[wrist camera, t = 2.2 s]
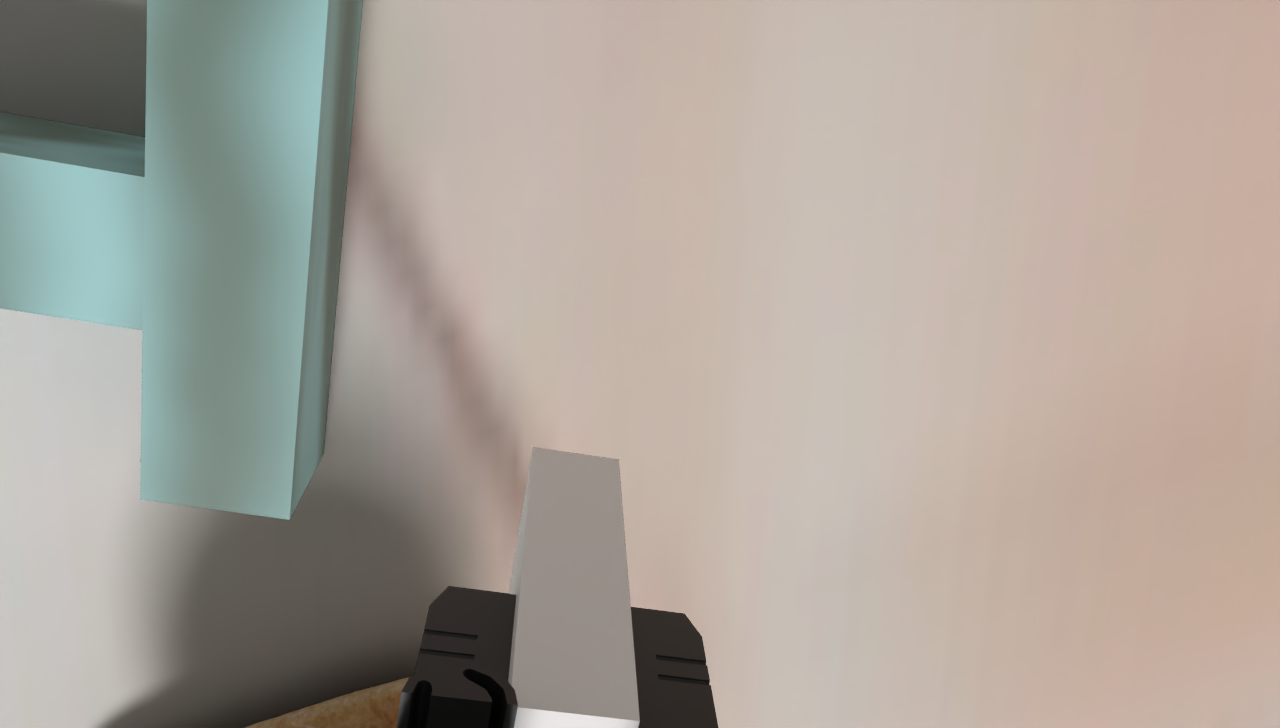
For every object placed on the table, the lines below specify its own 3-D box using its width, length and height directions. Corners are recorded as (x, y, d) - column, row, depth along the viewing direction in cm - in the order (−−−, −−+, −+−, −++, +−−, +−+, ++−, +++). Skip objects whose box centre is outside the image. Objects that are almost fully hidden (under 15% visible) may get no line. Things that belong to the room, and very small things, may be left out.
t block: (363, -13, 27) (329, -6, 24) (323, 453, 32) (289, 519, 29) (-205, -125, 26) (-339, -136, 22) (-154, 384, 31) (-255, 445, 27)
